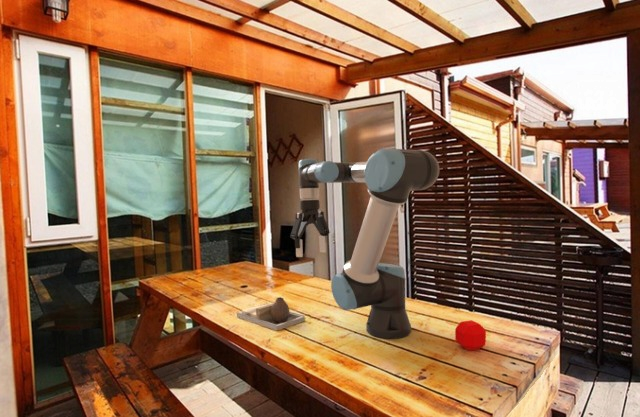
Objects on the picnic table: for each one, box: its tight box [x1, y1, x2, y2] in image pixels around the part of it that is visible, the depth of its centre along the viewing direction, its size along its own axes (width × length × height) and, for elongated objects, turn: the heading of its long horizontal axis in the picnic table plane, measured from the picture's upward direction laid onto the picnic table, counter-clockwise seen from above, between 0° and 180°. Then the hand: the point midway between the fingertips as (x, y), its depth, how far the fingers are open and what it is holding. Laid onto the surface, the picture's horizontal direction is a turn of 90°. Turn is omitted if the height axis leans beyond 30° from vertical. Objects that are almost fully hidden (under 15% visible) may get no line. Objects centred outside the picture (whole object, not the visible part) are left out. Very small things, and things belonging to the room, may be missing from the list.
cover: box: [241, 302, 274, 319], centre depth 155 cm, size 11×13×4 cm
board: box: [236, 311, 306, 332], centre depth 152 cm, size 24×14×2 cm, turn 46°
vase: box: [271, 297, 290, 323], centre depth 147 cm, size 7×7×9 cm
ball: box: [454, 320, 487, 351], centre depth 120 cm, size 8×8×8 cm
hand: (311, 254), depth 152 cm, fingers open, 13 cm apart
